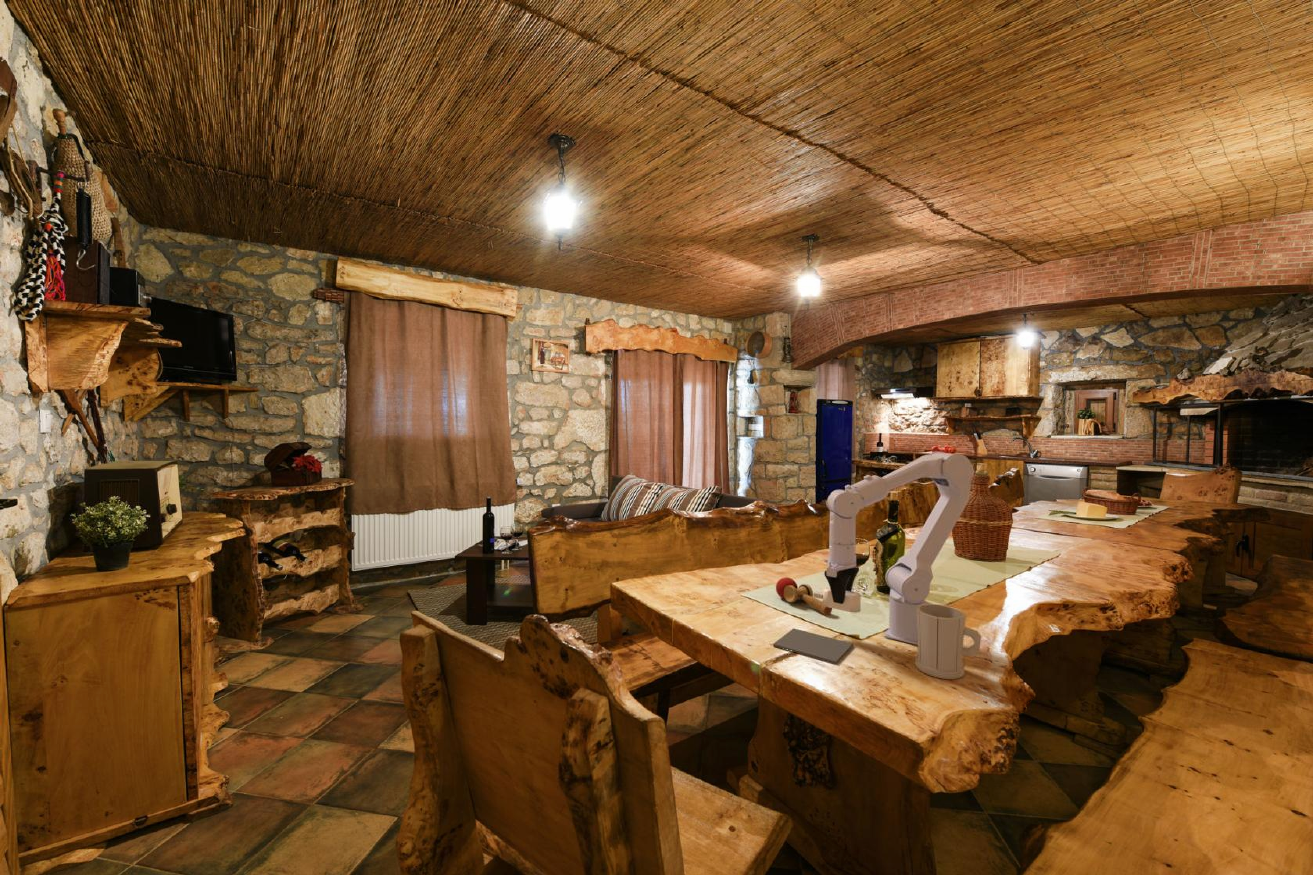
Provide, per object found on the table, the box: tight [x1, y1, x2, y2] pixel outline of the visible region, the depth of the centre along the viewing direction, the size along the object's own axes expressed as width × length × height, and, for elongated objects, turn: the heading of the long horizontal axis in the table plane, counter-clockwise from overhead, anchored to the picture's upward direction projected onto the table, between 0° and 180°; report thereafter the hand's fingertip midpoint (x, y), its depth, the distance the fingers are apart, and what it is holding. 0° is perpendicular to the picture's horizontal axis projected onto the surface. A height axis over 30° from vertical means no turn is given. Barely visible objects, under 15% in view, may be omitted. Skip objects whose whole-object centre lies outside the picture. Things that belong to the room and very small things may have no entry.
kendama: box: [775, 577, 833, 616], centre depth 145 cm, size 8×6×18 cm
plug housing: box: [813, 586, 862, 614], centre depth 124 cm, size 11×4×4 cm, turn 52°
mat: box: [772, 627, 854, 665], centre depth 118 cm, size 14×11×1 cm
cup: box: [914, 603, 982, 680], centre depth 107 cm, size 10×9×12 cm
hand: (841, 600), depth 124 cm, fingers closed on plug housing, 4 cm apart
